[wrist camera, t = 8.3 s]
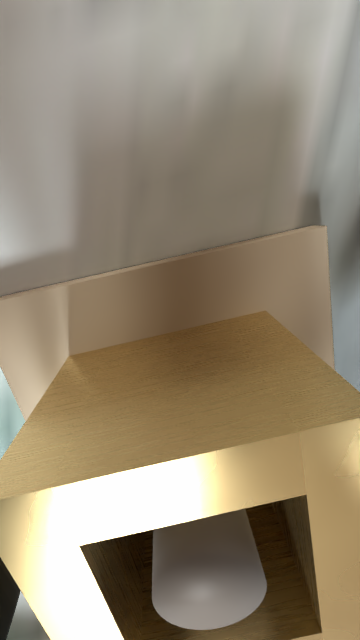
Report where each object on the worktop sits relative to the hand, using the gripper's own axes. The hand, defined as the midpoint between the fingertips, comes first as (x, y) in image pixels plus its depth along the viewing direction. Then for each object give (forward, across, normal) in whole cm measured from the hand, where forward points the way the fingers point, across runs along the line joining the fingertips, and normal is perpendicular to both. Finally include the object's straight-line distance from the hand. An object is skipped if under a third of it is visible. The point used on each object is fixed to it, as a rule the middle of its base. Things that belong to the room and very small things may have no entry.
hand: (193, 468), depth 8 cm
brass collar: (+2, 0, 0) cm, 2 cm away
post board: (+3, 0, 0) cm, 3 cm away
